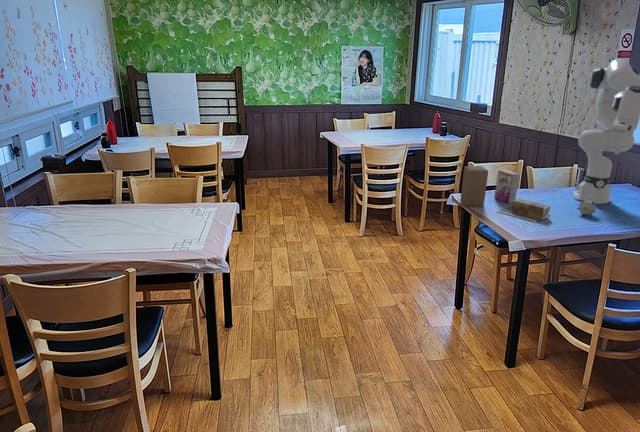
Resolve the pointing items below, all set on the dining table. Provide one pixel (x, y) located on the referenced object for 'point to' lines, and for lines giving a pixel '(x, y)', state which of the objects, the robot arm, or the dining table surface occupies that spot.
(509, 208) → the grey flat plate
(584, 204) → the cream knobbly lump
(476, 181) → the wooden block
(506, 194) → the candy bar box
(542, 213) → the walnut block
